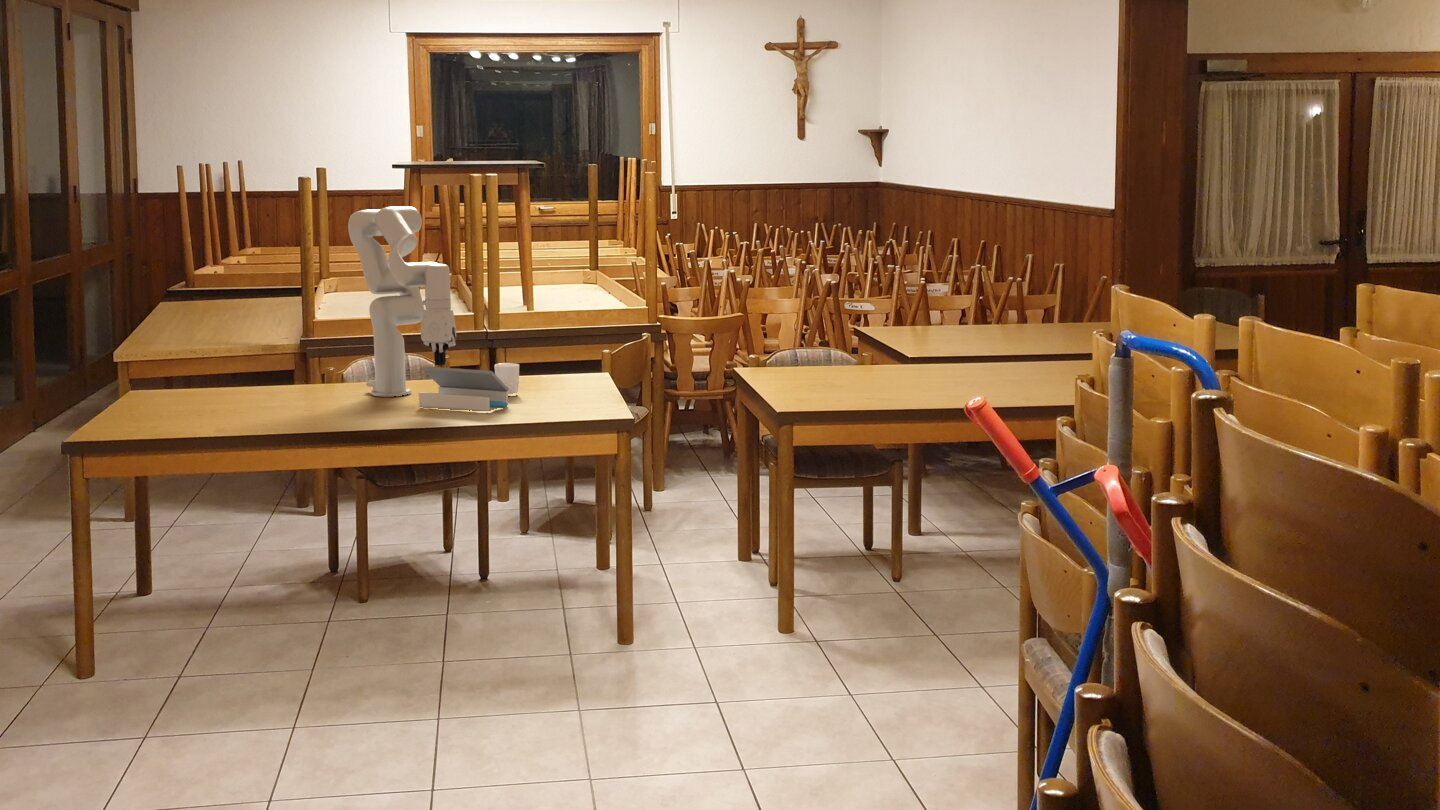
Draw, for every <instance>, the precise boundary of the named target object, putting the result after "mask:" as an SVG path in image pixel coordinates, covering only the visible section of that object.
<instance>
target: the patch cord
mask: <svg viewBox="0 0 1440 810" xmlns="http://www.w3.org/2000/svg"><path fill="white" fill-rule="evenodd" d="M489 403H490V407H497V408H505V409H507V408H506V407H507V403H506V402H504V401H491V400H489Z"/></svg>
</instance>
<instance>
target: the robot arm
mask: <svg viewBox="0 0 1440 810" xmlns="http://www.w3.org/2000/svg"><path fill="white" fill-rule="evenodd" d="M422 226H423V219H422V215H421V213H420V212H419V210H418V209H417V208H416V207H413V206H408V205H407V206H401V205H400V206H386V207H383V208H380V209H379V208H378V209H374V208H373V209H362V210H358V211H357V210H356V211H355V212H353V213H352V214H351V215H350V216H349V219H348V225H347V229H348V235H349V239H350V242H351V244H352V246H353V248H354V250H355V251H356V253H357V255H358V258H359V261H360V265H361V269H362V273H363V276H364V281H365V284H366V286H367V288H368V291H369V292H370V293H371V294H373V295H377V296H378V295H387V296H380V297H377V298H375V299H373V300H372V301H371V302H370V305H369V310H368V311H369V316H370V317H369V318H370V320H371V321H370V322H371V325H372V326H371V327H372V333H373V335H372V336H373V349H374V350H373V351H374V371H375V372H374V374H375V375H374V377H375V379H371V380H370V379H369V380H367V381H366V383H365V385H366V387H370V388H371V387H372V390H370V395H371V396H373V397H381V398H382V397H383V398H390V397H391V398H392V397H394V396H396V397H403V396H402V395H404V396H407V394H408V395H410V394H411V393H412V390H411V388H407V381H406V354H405V353H406V352H405V350H406V349H405V339H404V336H403V334H402V333H401V331H400V330H399V329H398V327H399V326H406V325H415V324H418V323H421V324H420V339H421V341H422V342H423V345H425V346H427V347H429V348H430V349H431V351H432V353H433V354H434V356H433V357H434V364H435V366H438V367H440V366H443V365H444V366H445V365H446V362H447V360H446V359H447V358H446V356H447V355H446V354H447V353H446V352H448V349H449V348H451V347H455V346H456V345H457V343H456V340H457V325H456V319H455V313H454V310H453V309H452V302H451V301H452V300H451V299H452V298H451V275H450V267H449V265H447V264H445V263H439V262H436V261H420V262H419V261H417V262H405V260H404V259H403V258H404V257H406V256H407V255H409V254H410V253H412V252H413V251H414V250H415V249H416V247H417V245H418V237H417V236H416V234H415V233H417V232H419V231H420V230H421V229H422ZM382 236H383V238H384V239H385V241H386V242H387V244H388V246H389V247H390V249H389V254H388V256H387V252H386V250H385V249H384V247H383V246H382V245H381V243H379V242H378V241H377V240H376V239H375V238H374V237H382ZM421 287H422V288H423V287H424V294H425V295H424V296H425V297H424V298H425V299H424V300H423V299H422V294H421V290H420V288H421ZM393 294H394V295H393ZM395 294H399V295H395ZM394 398H395V397H394Z"/></svg>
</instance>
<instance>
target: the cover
mask: <svg viewBox="0 0 1440 810" xmlns="http://www.w3.org/2000/svg"><path fill="white" fill-rule="evenodd" d="M421 370H422V371H423V372H424V373H425V374H426V375H428V377H430V378H431V379H432V381H433V382H435V383H436V384H437V385H438V387H453V388H466V389H480V390H494V391H508V389H509V388H508V387H507V386H506V385H505V384H504V383H503V382H502V381H501V380H500V379H499V378H498V377H497V376H496V375H495V372H493V371H492V370H483V369H482V370H481V369H471V368H470V369H469V368H468V369H466V368H454V367H440V366H437V367H436V366H424V365H422V368H421Z"/></svg>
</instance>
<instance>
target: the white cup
mask: <svg viewBox="0 0 1440 810" xmlns="http://www.w3.org/2000/svg"><path fill="white" fill-rule="evenodd" d="M493 367H494V374H495V375H496V376H497V377H498V378H499V379H500V380H501V381H502V382H503V383H504V384H505V385H506V386H507V387H508V388H509V389H508V394H513V393H517V392H518V393H519V387H520V386H519V383H520V381H519V379H520V364H519V363H513V362H502V363H495V364H494V366H493Z"/></svg>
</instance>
